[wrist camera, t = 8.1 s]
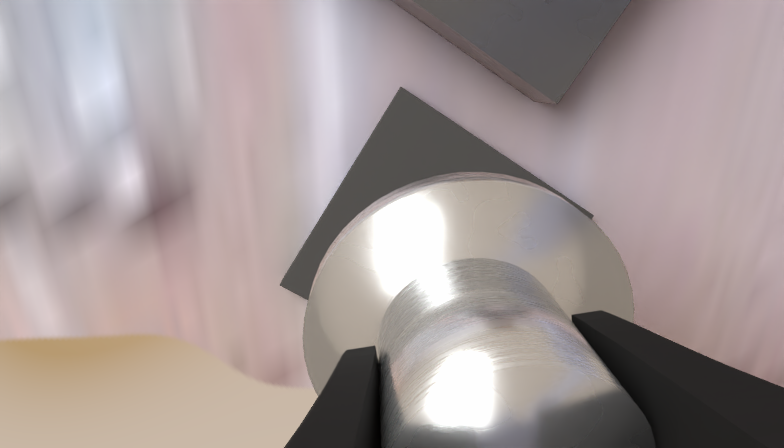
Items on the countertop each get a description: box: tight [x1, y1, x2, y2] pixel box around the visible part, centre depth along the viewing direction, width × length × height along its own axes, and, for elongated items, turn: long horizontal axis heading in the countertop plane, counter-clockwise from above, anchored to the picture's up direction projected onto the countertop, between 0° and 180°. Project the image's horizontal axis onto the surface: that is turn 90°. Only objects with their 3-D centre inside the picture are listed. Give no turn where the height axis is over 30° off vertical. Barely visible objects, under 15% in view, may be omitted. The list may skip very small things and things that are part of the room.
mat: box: [280, 87, 594, 300], centre depth 16 cm, size 8×8×1 cm
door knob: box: [303, 172, 656, 448], centre depth 9 cm, size 7×7×6 cm
